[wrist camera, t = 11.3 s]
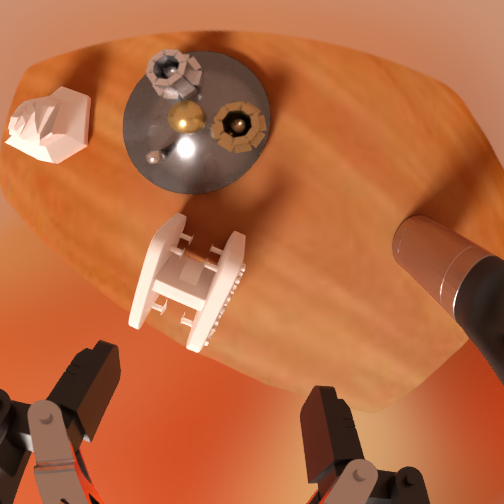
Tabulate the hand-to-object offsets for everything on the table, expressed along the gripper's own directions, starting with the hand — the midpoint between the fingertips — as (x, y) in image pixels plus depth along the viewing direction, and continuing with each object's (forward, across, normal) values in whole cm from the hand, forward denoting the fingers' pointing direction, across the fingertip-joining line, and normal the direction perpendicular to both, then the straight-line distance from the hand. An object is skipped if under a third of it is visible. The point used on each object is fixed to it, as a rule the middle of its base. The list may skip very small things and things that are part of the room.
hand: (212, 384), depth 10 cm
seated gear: (+29, +3, -11) cm, 31 cm away
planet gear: (+28, +12, -16) cm, 35 cm away
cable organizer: (+30, +5, +9) cm, 32 cm away
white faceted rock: (+30, +32, -9) cm, 45 cm away
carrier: (+30, +9, -11) cm, 33 cm away
